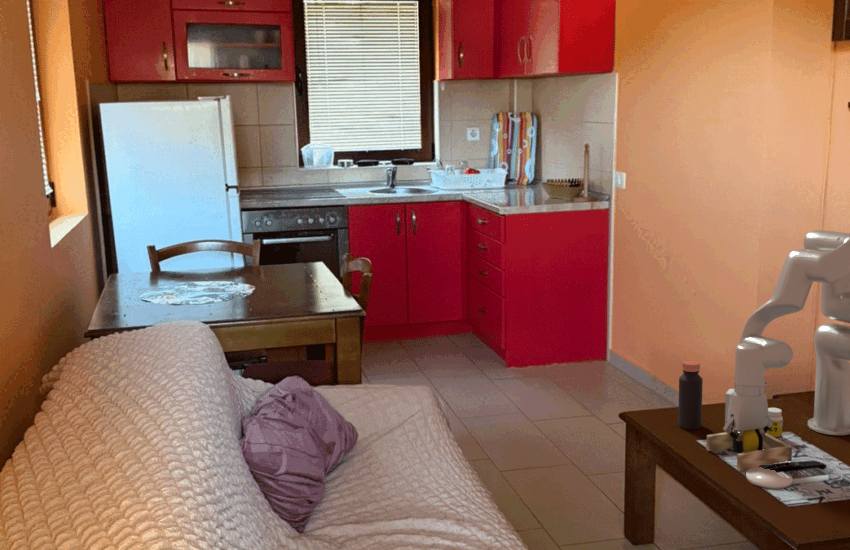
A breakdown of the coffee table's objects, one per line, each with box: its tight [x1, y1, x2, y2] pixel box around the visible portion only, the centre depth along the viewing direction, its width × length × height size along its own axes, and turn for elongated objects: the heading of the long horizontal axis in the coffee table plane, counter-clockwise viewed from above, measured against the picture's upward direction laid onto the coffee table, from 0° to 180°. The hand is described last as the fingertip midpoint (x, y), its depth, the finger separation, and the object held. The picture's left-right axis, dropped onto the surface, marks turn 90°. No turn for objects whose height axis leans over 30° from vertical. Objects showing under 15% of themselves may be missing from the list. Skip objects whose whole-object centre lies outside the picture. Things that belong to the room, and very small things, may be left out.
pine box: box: [705, 429, 793, 472], centre depth 224 cm, size 16×15×4 cm
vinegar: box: [677, 360, 704, 430], centre depth 245 cm, size 7×7×20 cm
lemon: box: [741, 430, 759, 453], centre depth 223 cm, size 6×6×8 cm
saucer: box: [745, 467, 794, 490], centre depth 210 cm, size 11×11×1 cm
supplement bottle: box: [766, 407, 784, 440], centre depth 236 cm, size 5×5×8 cm
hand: (747, 450), depth 224 cm, fingers closed on lemon, 5 cm apart
